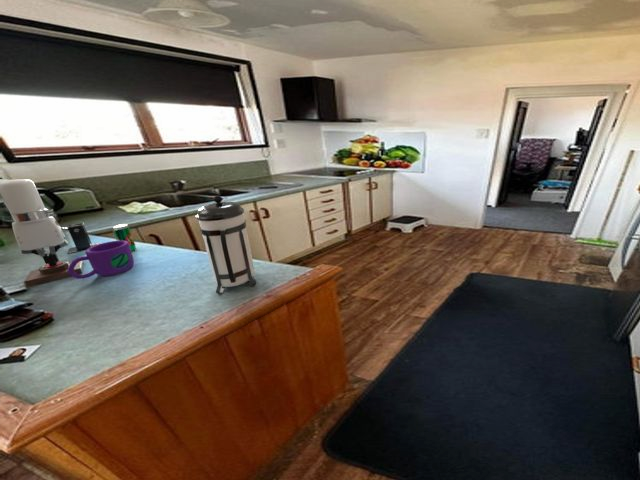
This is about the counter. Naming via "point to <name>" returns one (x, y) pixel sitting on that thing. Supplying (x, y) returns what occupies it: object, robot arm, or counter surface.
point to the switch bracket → (80, 238)
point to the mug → (105, 259)
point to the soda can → (124, 235)
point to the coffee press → (226, 243)
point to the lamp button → (53, 265)
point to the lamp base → (52, 273)
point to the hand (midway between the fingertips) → (53, 264)
